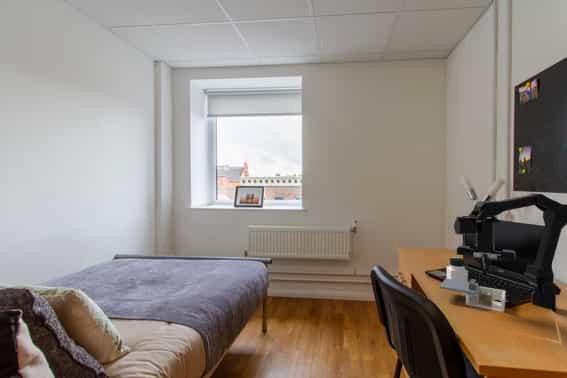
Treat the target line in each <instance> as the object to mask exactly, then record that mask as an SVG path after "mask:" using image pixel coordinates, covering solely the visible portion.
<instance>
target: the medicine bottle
mask: <svg viewBox="0 0 567 378" xmlns="http://www.w3.org/2000/svg"><path fill="white" fill-rule="evenodd" d="M465 263H466V262H465V259H464V258H462V257H455V256H454V257H453V256H452V257H450V258H449V266H448V265H447V266H446V279H452V280H458V281H465V282H469V271H468V269H466V268H465Z"/></svg>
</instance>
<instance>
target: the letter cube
mask: <svg viewBox="0 0 567 378" xmlns="http://www.w3.org/2000/svg"><path fill="white" fill-rule="evenodd" d="M479 304H480V305H486V306H492V293H490V292H484V291H480V292H479Z"/></svg>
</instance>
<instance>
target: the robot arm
mask: <svg viewBox="0 0 567 378" xmlns="http://www.w3.org/2000/svg"><path fill="white" fill-rule="evenodd" d="M531 206H534V207H536V208H537V210H540V211H541V212H542V219H543V223H544V228H543V232H542V236H541V238H540V242H539V246H538V249H537V254H536V257H535V261H534V262H533V263H532V264H526V268H525V271H524V273H523V274H524V275H525V277H524V278H525V280H526V281H527V282H528V283H529V286H530V288H533V291H532V292H531V304H532V305H533V306H537V307H540V308H544V309H551V310H552V312H557V304H556V303H557V296H560V294H561V292H562V289H561V288H560V287H559V286H558V285H557V284H556V283H555V282H554V277H555V274H554V271H553V267H552V266H553V262H554V258H555V254H556V251H557V247H558V244H559V240H560V236H561V233H562V230H563V228H564V227H565V226H567V204H565V203H564V204H563V203H561V202H559V201H558V200H555V199H553V198H550V197H548V196H546V195H544V194H542V193H530V194H527V195H526V194H525V195H521V196H517V197H512V198H506V199H502V200H480V201H477V202H476V203H474V206H473V209H472V210H471V212H470V213H469V214H468V215H467V216H456V219H455V221H454V224H453V230H454V233H455V234H456V235H475V234H476V236H475V237H473V246H474V247H475V248H471V247H470V246H469V245H459V246H457V248H456V255H458V256H466V255H468V254H472V255H473V259H474V260H476V261H477V263H478V264H479V267H480V270H481V271H482V273H483V275H484V276H487V275H488V273H489V269H490V266H491V265H492V263H493V262H496V261H497V259H498V257H500V258H502V259H503V261H512V262H514V261H516V251H515V250H513V249H504V248H503V249H502V251H499V250H498V251H497V250H496V247H495V246H496V243H495V224H500V223H501V220H499V219H498V218H497V217H496V216H498V215H500V214H502V213H504V212H507V211H510V210H512V211H513V210H517V209H521V208H528V207H531ZM484 256H487V257H486V261H485V257H484Z"/></svg>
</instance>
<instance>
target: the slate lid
mask: <svg viewBox="0 0 567 378" xmlns="http://www.w3.org/2000/svg"><path fill="white" fill-rule="evenodd" d="M478 286H479V283H477V279H475V278H471V279H470V280H469V281H468V282H465V281H458V280H452V279H447V278H445V279H444V280H443V281H442V283H441V284H440V285H439V289H442V290H447V291H452V292H458V293H459V292H460V293H465V294H466V293H470V294H475V292H476V290H477V287H478Z"/></svg>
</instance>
